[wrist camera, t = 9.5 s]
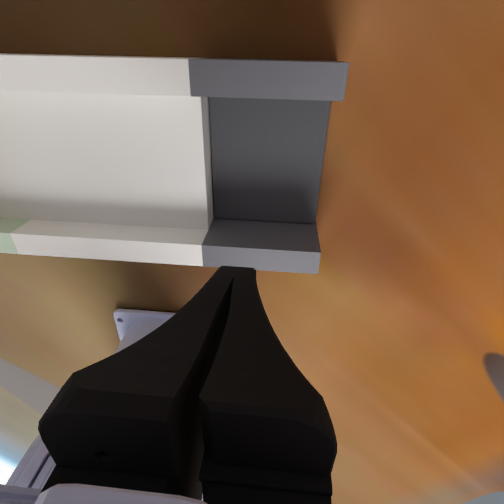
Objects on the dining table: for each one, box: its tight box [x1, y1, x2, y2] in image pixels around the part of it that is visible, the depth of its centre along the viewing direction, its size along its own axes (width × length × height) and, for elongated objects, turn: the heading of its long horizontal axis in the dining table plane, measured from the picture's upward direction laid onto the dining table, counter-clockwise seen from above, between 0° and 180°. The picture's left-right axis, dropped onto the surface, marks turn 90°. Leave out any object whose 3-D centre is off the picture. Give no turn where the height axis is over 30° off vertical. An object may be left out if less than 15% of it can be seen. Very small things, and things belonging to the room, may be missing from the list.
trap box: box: [0, 53, 349, 274], centre depth 20 cm, size 11×34×4 cm, turn 89°
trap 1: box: [209, 97, 331, 223], centre depth 20 cm, size 8×7×1 cm
